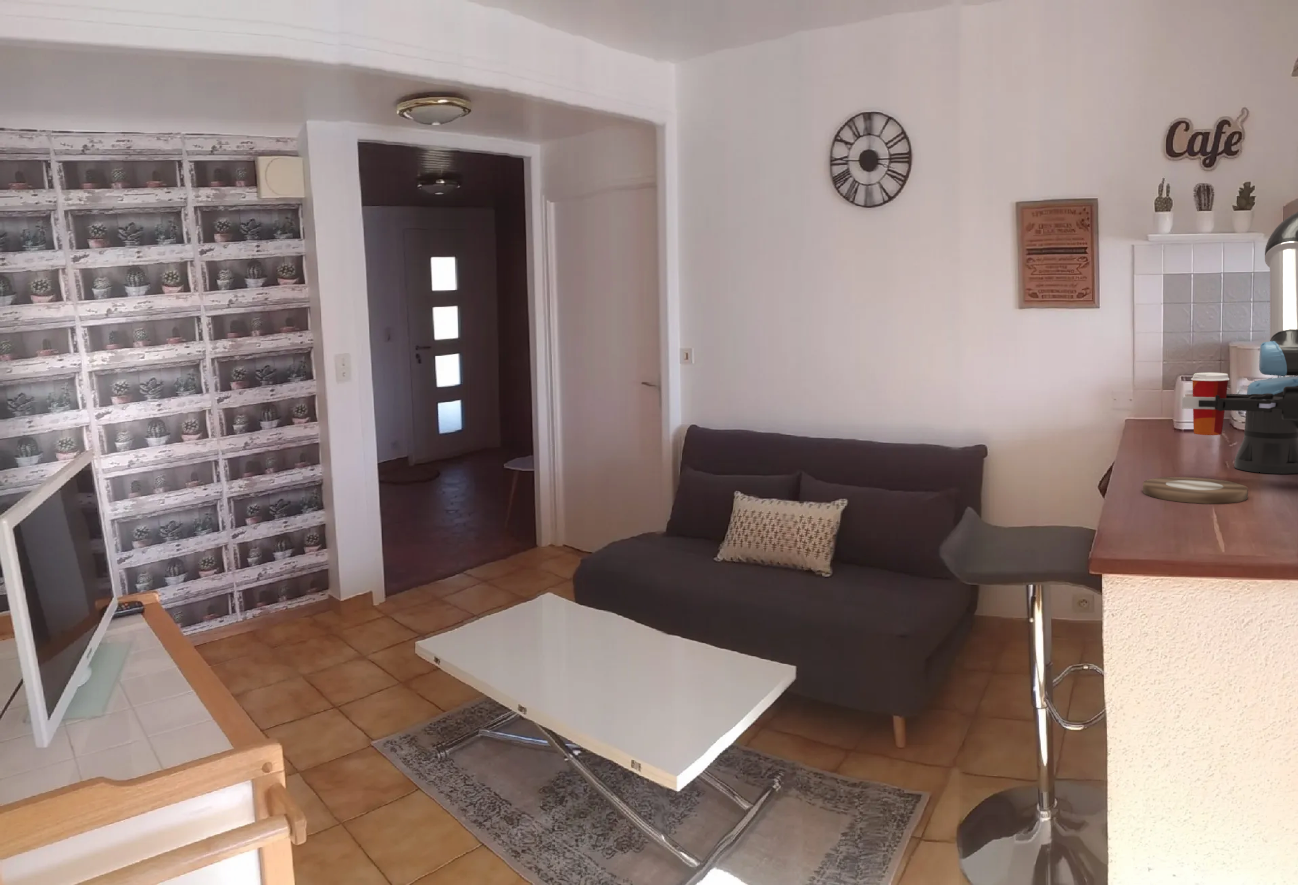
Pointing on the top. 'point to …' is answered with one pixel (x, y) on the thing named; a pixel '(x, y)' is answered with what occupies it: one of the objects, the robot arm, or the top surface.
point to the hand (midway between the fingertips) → (1184, 401)
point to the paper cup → (1209, 387)
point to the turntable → (1195, 490)
